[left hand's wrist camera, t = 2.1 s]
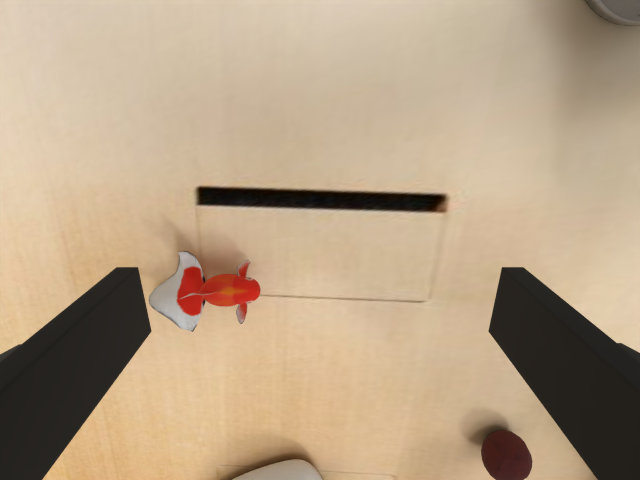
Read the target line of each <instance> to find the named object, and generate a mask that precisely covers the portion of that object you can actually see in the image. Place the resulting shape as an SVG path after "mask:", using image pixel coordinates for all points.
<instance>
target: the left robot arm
mask: <svg viewBox="0 0 640 480" xmlns="http://www.w3.org/2000/svg"><path fill="white" fill-rule="evenodd" d="M586 2H587V3H588V4H589V6H590V7H591V8H592V9H593V10H594V11H595V12H596V13H597V14H598V15H599V16H601V17H602V18H604V19H606V20H608V21H610V22H613V23H616V24H621V25H640V0H586ZM150 333H151V327H150V322H149V318H148V313H147V308H146V303H145V299H144V294H143V289H142V284H141V280H140V275H139V270H138V267H117V268H115V269H114V270H113V271H112V272H110V273H109V274H108V275H107V276H105V277H104V278H103V279H102V280H101V281H99V282H98V283H97V284H96V285H94V286H93V287H92V288H91V289H89V290H88V291H87V292H86V293H85V294H83V295H82V296H81V297H80V298H78V299H77V300H76V301H75V302H73V303H72V304H71V305H70V306H68V307H67V308H66V309H65V310H64V311H62V312H61V313H60V314H59V315H57V316H56V317H55V318H54V319H52V320H51V321H50V322H49V323H48V324H46V325H45V326H44V327H43V328H41V329H40V330H39V331H38V332H36V333H35V334H34V335H33V336H32V337H30V338H29V339H28V340H27V341H25V342H24V343H23V344H19V345H17V346H15V347H13V348H12V349H10V350H8V351H6V352H4V353H2V354H0V480H42V479H43V478H44V476H45V475H46V474H47V472H48V471H49V470H50V468H51V467H52V466H53V464H54V463H55V461H56V460H57V459H58V457H59V456H60V455H61V453H62V452H63V451H64V449H65V448H66V447H67V445H68V444H69V442H70V441H71V440H72V438H73V437H74V436H75V434H76V433H77V432H78V430H79V429H80V428H81V426H82V425H83V423H84V422H85V421H86V419H87V418H88V417H89V415H90V414H91V413H92V411H93V410H94V409H95V407H96V406H97V404H98V403H99V402H100V400H101V399H102V398H103V396H104V395H105V394H106V392H107V391H108V390H109V388H110V387H111V385H112V384H113V383H114V381H115V380H116V379H117V377H118V376H119V375H120V373H121V372H122V371H123V369H124V368H125V366H126V365H127V364H128V362H129V361H130V360H131V358H132V357H133V356H134V354H135V353H136V352H137V350H138V349H139V347H140V346H141V345H142V343H143V342H144V341H145V339H146V338H147V337H148V335H149V334H150ZM489 333H490V334H491V335H492V337H493V338H494V339H495V341H496V342H497V343H498V345H499V346H500V347H501V349H502V350H503V352H504V353H505V354H506V356H507V357H508V358H509V360H510V361H511V362H512V364H513V365H514V366H515V368H516V369H517V371H518V372H519V373H520V375H521V376H522V377H523V379H524V380H525V381H526V383H527V384H528V385H529V387H530V388H531V390H532V391H533V392H534V394H535V395H536V396H537V398H538V399H539V400H540V402H541V403H542V404H543V406H544V407H545V409H546V410H547V411H548V413H549V414H550V415H551V417H552V418H553V419H554V421H555V422H556V423H557V425H558V426H559V428H560V429H561V430H562V432H563V433H564V434H565V436H566V437H567V438H568V440H569V441H570V442H571V444H572V445H573V447H574V448H575V449H576V451H577V452H578V453H579V455H580V456H581V457H582V459H583V460H584V461H585V463H586V464H587V466H588V467H589V468H590V470H591V471H592V472H593V474H594V475H595V476H596V478H597V479H598V480H640V353H639V352H637V351H635V350H633V349H631V348H629V347H627V346H626V345H624V344H622V343H616V342H615V341H613V340H612V339H611V338H610V337H608V336H607V335H606V334H605V333H604V332H602V331H601V330H600V329H599V328H597V327H596V326H595V325H594V324H592V323H591V322H590V321H589V320H588V319H586V318H585V317H584V316H583V315H581V314H580V313H579V312H578V311H576V310H575V309H574V308H573V307H572V306H570V305H569V304H568V303H567V302H565V301H564V300H563V299H562V298H560V297H559V296H558V295H557V294H555V293H554V292H553V291H552V290H551V289H549V288H548V287H547V286H546V285H544V284H543V283H542V282H541V281H539V280H538V279H537V278H536V277H535V276H533V275H532V274H531V273H530V272H528V271H527V270H526V269H525V268H523V267H502V270H501V275H500V280H499V284H498V289H497V294H496V299H495V303H494V308H493V313H492V318H491V322H490V327H489Z"/></svg>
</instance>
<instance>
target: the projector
mask: <svg viewBox="0 0 640 480" xmlns="http://www.w3.org/2000/svg"><path fill="white" fill-rule="evenodd" d="M232 480H323V479H322V478H321V476H320V475H319V473H318V472H317V470H316V469H315V468H314V467H313V466H312V465H311V464H309V463H308V462H306V461H304V460H299V459H294V460H286V461H282V462H278V463H274V464H271V465H267V466H264V467H261V468H258V469H255V470H253V471H250V472H248V473H245V474H243V475H241V476H238V477H236V478H234V479H232Z"/></svg>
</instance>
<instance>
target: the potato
mask: <svg viewBox="0 0 640 480" xmlns="http://www.w3.org/2000/svg"><path fill="white" fill-rule="evenodd" d="M481 454H482V460H483V463H484V466H485V468H486V469H487V471H488V472H489V474H490V475H491V476H492V477H493V478H494V479H496V480H524V479H525V478H527V476H528V475H529V474H530V471H531V468H532V457H531V454H530V452H529V450H528V448H527V446H526V444H525V442H524V441H523V440H522V439H521V438H520V437H519V436H517V435H516V434H514V433H513V432H510V431H506V430H499V431H496V432H493V433H491V434H490V435H489V436H488V437H487V438H486V439H485V440H484V442H483V445H482V449H481Z"/></svg>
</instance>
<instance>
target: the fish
mask: <svg viewBox="0 0 640 480" xmlns="http://www.w3.org/2000/svg"><path fill="white" fill-rule="evenodd" d="M178 253H179V265H178V269H177V271H176V273H175V274H174V275H172V276H171V277H170V278H169V279H167V280H166V281H165V282H163V283H162V284H160V285H159V286H157V287H156V288H155V289H154V291H153V292H152V293H151V295H150V296H149V304H150V305H151V306H152V308H154V309H155V310H156V311H158V312H159V313H161V314H162V315H164V316H166V317H167V318H168V319H170V320H171V321H173V322H174V323H175V324H176V325H177V326H178V327H179V328H181V329H185V330H189V331H192V332H193V331H194V329H195V327H196V325H197V323H198V321H199V319H200V316H201V313H202V310H203V307H204V304H205V300H206V301H208V302H209V303H211V304H213V305H216V306H233V305H236V304H239V306H238V308H237V310H236V314H237V318H238V321H239V323H240V324H242V323H243V322H244V320H245V316H246V313H247V303H251V302H253V301H254V300H256V299H257V298H258V297H259V295H260V286H259V284H258V282H257V281H256V280H254V279H251V278H247V277H246V272H247V268H248V265H249V263H250V262H249V260H247V261H244V262H242V263H241V264H239V265H238V267H237V274H238V275H233V274H221V275H217V276H214V277H212V278H210V279H208V280H207V281H206V282H205V278H204V275H203V272H202V269H201V266H200V264H199V262H198V260H197V259H196V257H195V256H194V255H192V254H191V253H189V252H188V251H184V252H178Z"/></svg>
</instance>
